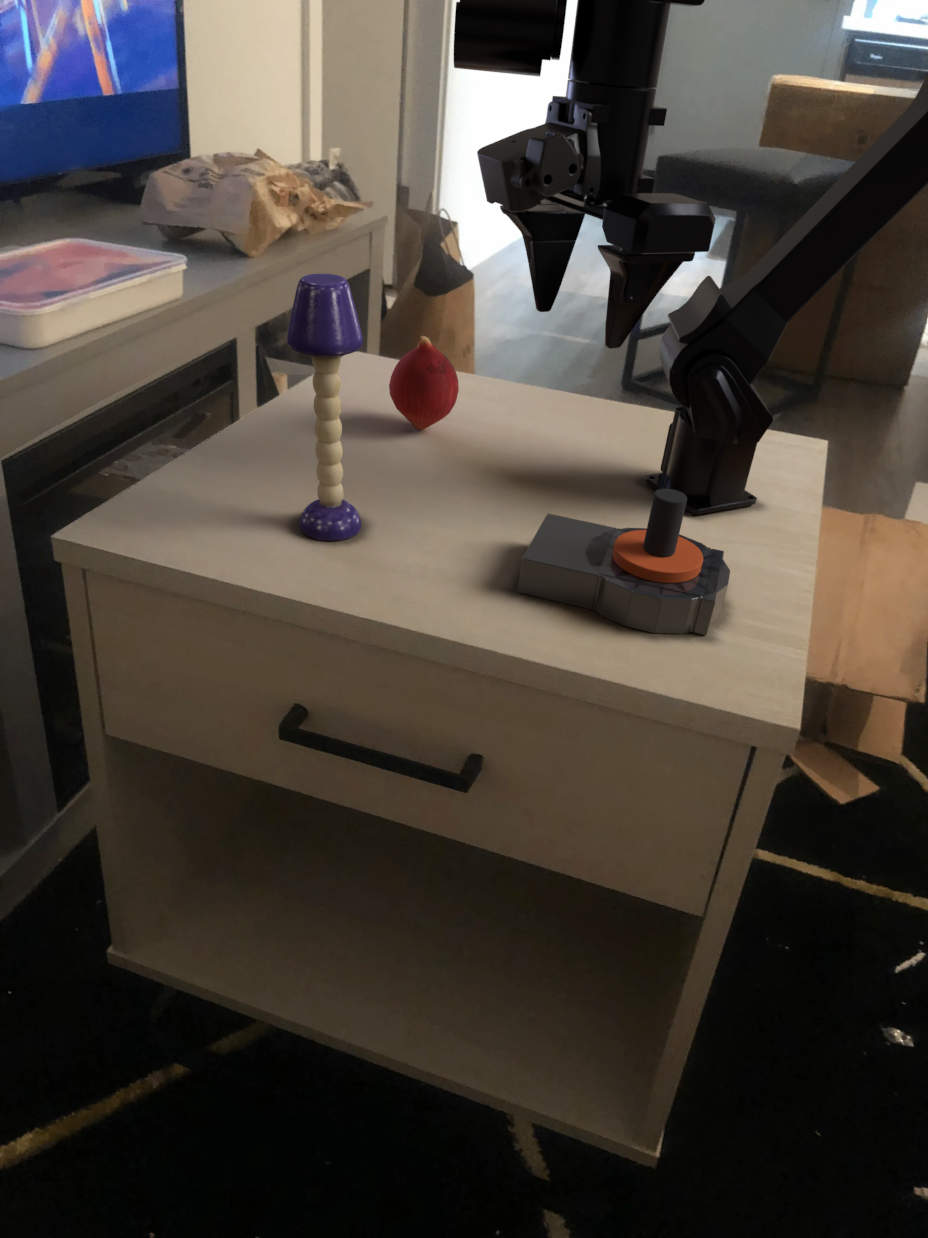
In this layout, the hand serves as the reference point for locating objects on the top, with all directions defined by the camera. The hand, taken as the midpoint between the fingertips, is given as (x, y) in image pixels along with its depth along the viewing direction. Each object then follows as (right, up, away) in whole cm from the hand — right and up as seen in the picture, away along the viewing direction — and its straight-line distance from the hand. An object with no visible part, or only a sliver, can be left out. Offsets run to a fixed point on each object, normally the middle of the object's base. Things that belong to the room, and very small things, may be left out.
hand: (576, 328), depth 69 cm
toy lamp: (-18, -15, -3) cm, 24 cm away
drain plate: (+2, -19, -7) cm, 21 cm away
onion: (-12, -5, +13) cm, 19 cm away
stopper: (+4, -19, -8) cm, 21 cm away
